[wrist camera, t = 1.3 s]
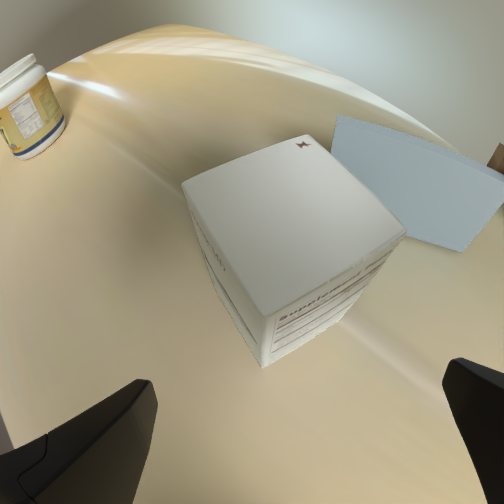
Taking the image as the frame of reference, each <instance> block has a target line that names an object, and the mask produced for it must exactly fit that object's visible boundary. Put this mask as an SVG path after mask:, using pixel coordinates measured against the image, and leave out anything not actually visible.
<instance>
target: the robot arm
mask: <svg viewBox="0 0 504 504" xmlns="http://www.w3.org/2000/svg"><path fill="white" fill-rule="evenodd" d="M442 387H443V390H444V392H445V395H446V397H447V400H448V403H449V406H450V408H451V411H452V414H453V417H454V420H455V422H456V425H457V427H458V429H459V431H460V434H461V436H462V438H463V440H464V443H465V445H466V447H467V450H468V452H469V454H470V457H471V459H472V462H473V464H474V467H475V469H476V472H477V474H478V477H479V480H480V483H481V485H482V488H483V491H484V494H485V497H486V500H487V503H488V504H504V373H501V372H499V371H496V370H493V369H491V368H488V367H485V366H483V365H480V364H477V363H475V362H472V361H469V360H467V359H464V358H456V359H452V360H451V361H450V362H449V364H448V366H447V369H446V372H445V375H444V377H443V380H442ZM157 408H158V402H157V398H156V395H155V391H154V388H153V384H152V382H151V381H149V380H144V379H136V380H134V381H133V382H131V383H130V384H128V385H126V386H125V387H123V388H122V389H120V390H119V391H117V392H115V393H114V394H112V395H111V396H109V397H107V398H106V399H104V400H102V401H101V402H99V403H97V404H96V405H94V406H93V407H91V408H89V409H88V410H86V411H84V412H83V413H81V414H79V415H78V416H76V417H74V418H72V419H71V420H69V421H67V422H66V423H64V424H62V425H60V426H59V427H57V428H55V429H53V430H52V431H50V432H48V434H44V435H43V436H41V437H39V438H37V439H35V440H33V441H31V442H30V443H28V444H26V445H24V446H21V447H19V448H17V449H15V450H12V451H10V452H7V453H5V454H2V455H0V504H132V503H133V500H134V497H135V494H136V490H137V487H138V484H139V481H140V478H141V474H142V471H143V468H144V465H145V462H146V459H147V456H148V452H149V449H150V444H151V439H152V433H153V428H154V423H155V418H156V413H157Z"/></svg>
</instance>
